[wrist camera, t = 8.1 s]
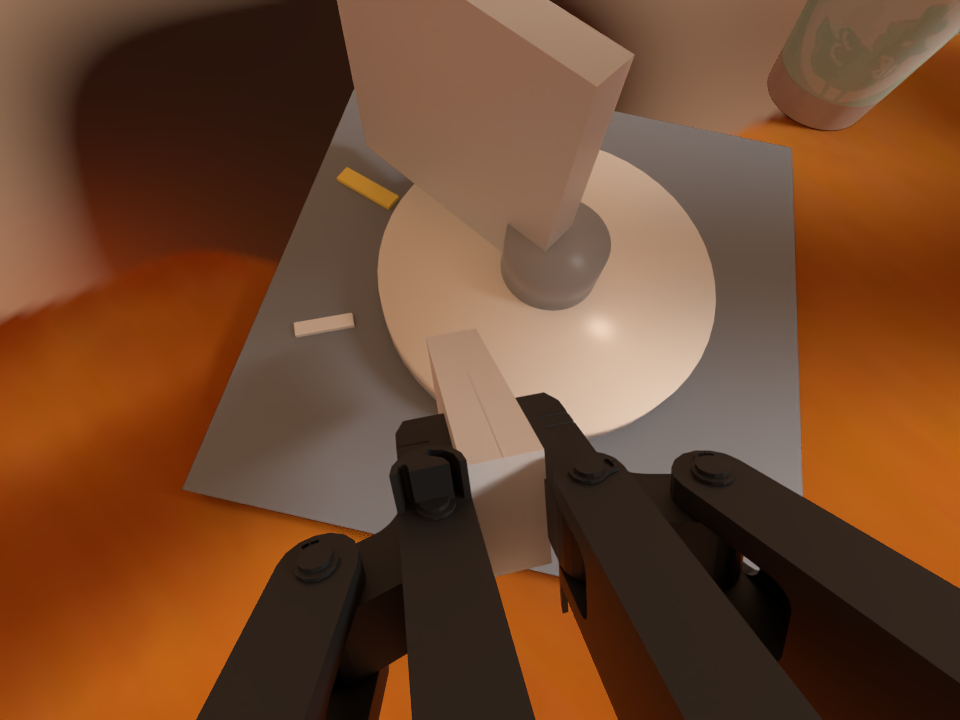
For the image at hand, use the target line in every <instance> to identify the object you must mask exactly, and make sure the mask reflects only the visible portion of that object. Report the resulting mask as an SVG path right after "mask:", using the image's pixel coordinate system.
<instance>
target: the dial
mask: <svg viewBox="0 0 960 720" xmlns="http://www.w3.org/2000/svg"><path fill="white" fill-rule="evenodd" d="M337 3H338V8H339V13H340V17H341V22H342V28H343V33H344V38H345V43H346V48H347V53H348V57H349V62H350V68H351V72H352V78H353V83H354V88H355V93H356V98H357V103H358V108H359V113H360V118H361V123H362V128H363V133H364V138H365V143H366V146H367V147H369V148H370V149H371V150H372V151H374V152H375V153H376V154H378V155H379V156H380V157H381V158H383V159H384V160H385V161H386V162H388V163H389V164H390V165H392V166H393V167H394V168H395V169H397V170H398V171H399V172H400V173H402V174H403V175H404V176H406V177H407V178H408V179H409V180H411V181H412V182H413V183H414V185H413V186H412V187H411V188H410V189H409V191H408V192H407V193H406V194H405V195H404V197H403V198H402V199H401V201H400V202H399V204H398V205H397V207H396V209H395V210H394V212H393V214H392V215H391V218H390V220H389V222H388V225H387V227H386V229H385V232H384V235H383V239H382V243H381V246H380V250H379V259H378V269H377V271H378V290H379V295H380V300H381V304H382V309H383V313H384V317H385V321H386V325H387V328H388V331H389V333H390V336H391V339H392V341H393V344H394V346H395V348H396V350H397V352H398V354H399V356H400V358H401V359H402V361H403V363H404V365H405V366H406V367H407V369H408V370H409V371H410V373H411V374H412V375H413V377H414V378H415V380H416V381H417V382H418V383H419V384H420V385H421V386H422V387H423V388H424V389H425V390H426V391H427V392H428V393H429V394H430V395H431V396H432V397H433V398H434V399H435V400H436V396H435V390H434V384H433V378H432V372H431V366H430V360H429V354H428V348H427V342H426V337H429V336H435V335H441V334H446V333H452V332H458V331H464V330H470V329H475V328H476V330H477V331H478V333H479V335H480V337H481V339H482V340H483V342H484V344H485V346H486V347H487V349H488V351H489V353H490V354H491V356H492V358H493V360H494V361H495V363H496V365H497V367H498V369H499V370H500V372H501V374H502V376H503V377H504V379H505V381H506V383H507V384H508V386H509V388H510V390H511V392H512V393H513V395H514V397H515V398H516V397H522V396H527V395H532V394H537V393H542V392H544V393H546V394H548V395H550V396H552V397H554V398H556V399H557V400H559V401H560V403H561V404H562V405H563V407H564V408H565V409H566V411H567V413H568V414H569V415H570V416H571V418H572V419H573V421H574V423H576V424H577V426H578V427H579V429H580V430H581V431H582V433H583V434H584V435H585V437H586V438H587V439H590V438H594V437H598V436H602V435H606V434H608V433H611V432H613V431H616V430H618V429H621V428H623V427H625V426H627V425H629V424H631V423H632V422H634V421H636V420H637V419H639V418H641V417H643V416H644V415H646V414H647V413H648V412H650V411H651V410H652V409H654V408H655V407H656V406H658V405H659V404H660V403H662V402H663V401H664V400H665V399H667V398H668V397H669V396H670V395H672V394H673V393H674V392H675V391H676V390H677V389H678V388H679V387H680V386H681V385H682V384H683V382H684V381H685V380H686V379H687V378H688V377H689V376H690V374H691V373H692V371H693V370H694V368H695V367H696V365H697V364H698V362H699V361H700V359H701V357H702V355H703V352H704V350H705V348H706V346H707V344H708V341H709V338H710V334H711V331H712V327H713V323H714V316H715V307H716V291H715V280H714V274H713V269H712V264H711V261H710V258H709V255H708V252H707V249H706V246H705V244H704V242H703V240H702V238H701V236H700V234H699V232H698V230H697V228H696V227H695V225H694V224H693V222H692V221H691V219H690V217H689V216H688V214H687V213H686V212H685V210H684V209H683V208H682V207H681V206H680V204H679V203H678V202H677V201H676V200H675V198H674V197H673V196H672V195H670V194H669V193H668V192H667V191H666V190H665V189H664V188H663V187H662V186H661V185H660V184H659V183H657V182H656V181H655V180H654V179H652V178H651V177H650V176H648V175H647V174H646V173H644V172H643V171H641V170H640V169H638V168H636V167H635V166H633V165H632V164H630V163H628V162H626V161H624V160H622V159H620V158H618V157H616V156H614V155H612V154H610V153H607V152H605V151H602V150H600V148H601V145H602V142H603V140H604V137H605V134H606V131H607V129H608V126H609V123H610V121H611V118H612V115H613V112H614V109H615V107H616V104H617V102H618V99H619V96H620V94H621V91H622V88H623V85H624V83H625V80H626V77H627V74H628V72H629V69H630V66H631V63H632V61H633V58H634V56H635V54H633V53H631V52H630V51H628V50H627V49H625V48H624V47H622V46H620V45H619V44H617V43H616V42H614V41H612V40H611V39H609V38H608V37H606V36H605V35H603V34H601V33H600V32H598V31H596V30H595V29H593V28H592V27H590V26H589V25H587V24H586V23H584V22H582V21H581V20H579V19H578V18H576V17H575V16H573V15H571V14H570V13H568V12H567V11H565V10H563V9H562V8H560V7H559V6H557V5H555V4H554V3H552V2H551V1H549V0H337Z"/></svg>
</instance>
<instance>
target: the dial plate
mask: <svg viewBox="0 0 960 720" xmlns="http://www.w3.org/2000/svg"><path fill="white" fill-rule="evenodd" d="M600 150H602V151H605V152H607V153H610V154H612V155H614V156H616V157H618V158H620V159H622V160H624V161H626V162H628V163H630V164H632V165H633V166H635V167H636V168H638V169H640V170H641V171H643V172H644V173H646V174H647V175H648V176H650V177H651V178H652V179H654V180H655V181H656V182H657V183H659V184H660V185H661V186H662V187H663V188H664V189H665V190H666V191H667V192H668V193H669V194H670V195H672V196H673V197H674V198H675V200H676V201H677V202H678V203H679V204H680V206H681V207H682V208H683V209H684V210H685V212H686V213H687V214H688V216H689V217H690V219H691V221H692V222H693V224H694V225H695V227H696V228H697V230H698V232H699V234H700V236H701V238H702V240H703V242H704V244H705V246H706V249H707V252H708V255H709V258H710V261H711V264H712V269H713V274H714V280H715V291H716V307H715V316H714V323H713V327H712V331H711V334H710V338H709V341H708V344H707V346H706V348H705V350H704V352H703V355H702V357H701V359H700V361H699V362H698V364H697V365H696V367H695V368H694V370H693V371H692V373H691V374H690V376H689V377H688V378H687V379H686V380H685V381H684V382H683V384H682V385H681V386H680V387H679V388H678V389H677V390H676V391H675V392H674V393H673V394H672V395H670V396H669V397H668V398H667V399H665V400H664V401H663V402H662V403H660V404H659V405H658V406H656V407H655V408H654V409H652V410H651V411H650V412H648V413H647V414H646V415H644V416H643V417H641V418H639V419H637V420H636V421H634V422H632V423H631V424H629V425H627V426H625V427H623V428H621V429H618V430H616V431H613V432H611V433H608V434H606V435H602V436H598V437H594V438H590V439H588V441H589V442H590V444H591V445H592V446H593V448H594V449H595V450H596V452H600V453H605V454H607V455H609V456H612V457H614V458H616V459H617V460H618V461H619V462H621V463H622V464H623V465H624V466H625V468H626V469H627V470H628V471H629V472H632V473H643V474H671V467H672V465H673V462H674V460H675V459H676V458H677V457H679V456H680V455H682V454H683V453H687V452H691V451H695V450H710V451H715V452H720V453H725V454H727V455H730V456H732V457H734V458H737V459H739V460H741V461H742V462H744V463H746V464H748V465H749V466H751V467H753V468H754V469H756V470H758V471H759V472H761V473H763V474H765V475H766V476H768V477H770V478H771V479H773V480H775V481H777V482H778V483H780V484H782V485H783V486H785V487H787V488H789V489H790V490H792V491H794V492H795V493H797V494H799V495H800V496H802V497H803V490H802V458H801V426H800V393H799V361H798V329H797V297H796V265H795V233H794V200H793V168H792V148H790V147H785V146H780V145H775V144H771V143H766V142H761V141H756V140H751V139H746V138H742V137H737V136H732V135H727V134H722V133H717V132H713V131H707V130H703V129H698V128H693V127H688V126H683V125H678V124H673V123H669V122H664V121H659V120H654V119H650V118H645V117H640V116H635V115H630V114H625V113H621V112H616V111H614V112H613V115H612V118H611V121H610V123H609V126H608V129H607V131H606V134H605V137H604V140H603V142H602V145H601V148H600ZM413 185H414V183H413V182H412V181H411V180H409V179H408V178H407V177H406V176H404V175H403V174H402V173H400V172H399V171H398V170H397V169H395V168H394V167H393V166H392V165H390V164H389V163H388V162H386V161H385V160H384V159H383V158H381V157H380V156H379V155H378V154H376V153H375V152H374V151H372V150H371V149H370V148H369V147H367V146H366V143H365V138H364V133H363V128H362V123H361V118H360V113H359V108H358V103H357V98H356V93H355V88H354V90H353V92H352V95H351V97H350V99H349V102H348V104H347V106H346V109H345V111H344V114H343V116H342V118H341V121H340V123H339V125H338V127H337V130H336V132H335V134H334V137H333V139H332V141H331V144H330V146H329V148H328V151H327V153H326V155H325V158H324V160H323V162H322V165H321V167H320V170H319V172H318V174H317V176H316V179H315V181H314V183H313V186H312V188H311V191H310V193H309V195H308V198H307V200H306V202H305V204H304V207H303V209H302V212H301V214H300V216H299V218H298V221H297V223H296V225H295V228H294V230H293V232H292V235H291V237H290V239H289V242H288V244H287V246H286V249H285V251H284V253H283V255H282V258H281V260H280V262H279V265H278V267H277V269H276V272H275V274H274V276H273V279H272V281H271V283H270V286H269V288H268V290H267V293H266V295H265V297H264V300H263V302H262V304H261V307H260V309H259V311H258V314H257V316H256V318H255V321H254V323H253V325H252V328H251V330H250V332H249V335H248V337H247V339H246V342H245V344H244V346H243V349H242V351H241V353H240V356H239V358H238V360H237V363H236V365H235V367H234V370H233V372H232V374H231V377H230V379H229V381H228V384H227V386H226V388H225V391H224V393H223V395H222V398H221V400H220V402H219V405H218V407H217V409H216V412H215V414H214V416H213V418H212V421H211V423H210V425H209V428H208V430H207V432H206V435H205V437H204V439H203V442H202V444H201V446H200V449H199V451H198V453H197V456H196V458H195V460H194V463H193V465H192V467H191V470H190V472H189V474H188V477H187V479H186V481H185V484H184V486H183V488H182V490H186V491H190V492H194V493H198V494H202V495H206V496H210V497H215V498H219V499H223V500H228V501H232V502H236V503H241V504H245V505H249V506H254V507H258V508H262V509H267V510H271V511H275V512H280V513H284V514H289V515H293V516H297V517H302V518H306V519H310V520H315V521H319V522H323V523H328V524H332V525H336V526H341V527H345V528H349V529H354V530H358V531H362V532H367V533H371V534H376V533H378V532H379V531H381V530H382V529H384V528H385V527H386V526H387V525H388V524H390V522H391V521H392V520H393V519H394V518H395V516H396V515H397V509H396V505H395V500H394V496H393V491H392V487H391V483H390V478H389V474H390V470H391V467H392V465H393V464H394V463H395V462H396V461H397V451H396V438H395V433H396V432H397V430H398V428H399V427H400V425H401V423H402V422H403V421H406V420H411V419H416V418H421V417H426V416H431V415H436V414H438V408H437V402H436V400H435V399H434V398H433V397H432V396H431V395H430V394H429V393H428V392H427V391H426V390H425V389H424V388H423V387H422V386H421V385H420V384H419V383H418V382H417V381H416V380H415V378H414V377H413V375H412V374H411V373H410V371H409V370H408V369H407V367H406V366H405V365H404V363H403V361H402V359H401V358H400V356H399V354H398V352H397V350H396V348H395V346H394V344H393V341H392V339H391V336H390V333H389V331H388V328H387V325H386V321H385V317H384V313H383V309H382V304H381V300H380V295H379V290H378V271H377V269H378V259H379V250H380V246H381V243H382V239H383V235H384V232H385V229H386V227H387V225H388V222H389V220H390V218H391V215H392V214H393V212H394V210H395V209H396V207H397V205H398V204H399V202H400V201H401V199H402V198H403V197H404V195H405V194H406V193H407V192H408V191H409V189H410V188H411V187H412V186H413ZM551 557H552V563H551V564H547V565H542V566H538V567H534V568H530V569H528V570H532V571H536V572H541V573H545V574H549V575H554V576H558V577H559V562H558V559H557V557H556V555H555V552H554V550H553V548H552V546H551ZM743 562H745V563H746V564H747V565H749V566H750V567H752V568H753V569H755V570H759V569H760V568H759V567H757V566H756V565H755V564H754V563H752V562H751V561H750V560H748V559H747V558H746V557H743Z"/></svg>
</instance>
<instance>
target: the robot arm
mask: <svg viewBox="0 0 960 720" xmlns="http://www.w3.org/2000/svg"><path fill="white" fill-rule="evenodd" d="M426 342H427V348H428V354H429V360H430V366H431V372H432V378H433V384H434V390H435V396H436V402H437V408H438V414H436V415H431V416H426V417H421V418H416V419H411V420H406V421H403V422H402V423H401V425H400V427H399V428H398V430H397V432H396V433H395V438H396V451H397V461H396V462H395V463H394V464H393V465H392V467H391V470H390V474H389V478H390V483H391V487H392V491H393V496H394V500H395V505H396V509H397V515H396V516H395V518H394V519H393V520H392V521H391V522H390V524H388V525H387V526H386V527H385V528H384V529H382V530H381V531H379V532H378V533H376V534H374V535H373V536H371V537H369V538H367V539H365V540H362V541H360V542H358V543H355V541H354V540H353V539H351V538H349V537H348V536H346V535H344V534H336V533H327V534H322V535H317V536H313V537H311V538H309V539H307V540H305V541H302V542H300V543H299V544H297V545H296V546H295V547H293V548H292V549H291V550H289V551H288V552H287V553H286V554H285V555H284V556H283V558H282V559H281V560H280V562H279V563H278V564H277V566H276V568H275V570H274V572H273V574H272V575H271V577H270V579H269V581H268V583H267V585H266V587H265V589H264V591H263V593H262V595H261V597H260V598H259V600H258V602H257V604H256V606H255V608H254V610H253V612H252V614H251V616H250V618H249V620H248V621H247V623H246V625H245V627H244V629H243V631H242V633H241V635H240V637H239V639H238V641H237V643H236V644H235V646H234V648H233V650H232V652H231V654H230V656H229V658H228V660H227V662H226V664H225V666H224V667H223V669H222V671H221V673H220V675H219V677H218V679H217V681H216V683H215V685H214V687H213V689H212V690H211V692H210V694H209V696H208V698H207V700H206V702H205V704H204V706H203V708H202V710H201V712H200V713H199V715H198V717H197V719H196V720H379V715H380V710H381V706H382V701H383V696H384V691H385V687H386V682H387V677H388V673H389V664H391V663H392V662H394V661H396V660H397V659H399V658H401V657H402V656H404V655H406V654H407V653H408V667H409V681H410V695H411V709H412V720H535V717H534V713H533V710H532V706H531V703H530V699H529V696H528V692H527V689H526V685H525V682H524V678H523V675H522V671H521V668H520V664H519V661H518V657H517V654H516V650H515V647H514V643H513V640H512V636H511V633H510V629H509V626H508V622H507V619H506V615H505V612H504V608H503V605H502V601H501V598H500V594H499V591H498V587H497V584H496V580H495V577H497V576H501V575H505V574H509V573H513V572H518V571H522V570H526V569H530V568H534V567H538V566H542V565H547V564H551V563H552V557H551V546H552V548H553V550H554V552H555V555H556V557H557V559H558V562H559V579H560V595H561V606H562V612H563V613H566V612H568V602H569V605H570V607H571V610H572V612H573V614H574V617H575V619H576V621H577V624H578V626H579V628H580V631H581V633H582V635H583V638H584V640H585V642H586V645H587V647H588V649H589V652H590V654H591V657H592V659H593V661H594V664H595V666H596V668H597V671H598V673H599V675H600V678H601V680H602V682H603V685H604V687H605V689H606V692H607V694H608V697H609V699H610V701H611V704H612V706H613V708H614V711H615V713H616V715H617V718H618V720H960V589H959V588H958V587H956V586H954V585H953V584H951V583H949V582H947V581H946V580H944V579H942V578H941V577H939V576H937V575H935V574H934V573H932V572H930V571H929V570H927V569H925V568H924V567H922V566H920V565H918V564H917V563H915V562H913V561H912V560H910V559H908V558H906V557H905V556H903V555H901V554H900V553H898V552H896V551H894V550H893V549H891V548H889V547H888V546H886V545H884V544H883V543H881V542H879V541H877V540H876V539H874V538H872V537H871V536H869V535H867V534H865V533H864V532H862V531H860V530H859V529H857V528H855V527H853V526H852V525H850V524H848V523H847V522H845V521H843V520H842V519H840V518H838V517H836V516H835V515H833V514H831V513H830V512H828V511H826V510H824V509H823V508H821V507H819V506H818V505H816V504H814V503H812V502H811V501H809V500H807V499H806V498H804V497H802V496H800V495H799V494H797V493H795V492H794V491H792V490H790V489H789V488H787V487H785V486H783V485H782V484H780V483H778V482H777V481H775V480H773V479H771V478H770V477H768V476H766V475H765V474H763V473H761V472H759V471H758V470H756V469H754V468H753V467H751V466H749V465H748V464H746V463H744V462H742V461H741V460H739V459H737V458H734V457H732V456H730V455H727V454H725V453H720V452H715V451H710V450H695V451H691V452H687V453H683V454H682V455H680V456H679V457H677V458H676V459H675V460H674V462H673V465H672V467H671V474H643V473H632V472H629V471H628V470H627V469H626V468H625V466H624V465H623V464H622V463H621V462H619V461H618V460H617V459H616V458H614V457H612V456H609V455H607V454H605V453H600V452H596V450H595V449H594V448H593V446H592V445H591V444H590V442H589V441H588V439H587V438H586V437H585V435H584V434H583V433H582V431H581V430H580V429H579V427H578V426H577V424H576V423H574V421H573V419H572V418H571V416H570V415H569V414H568V413H567V411H566V409H565V408H564V407H563V405H562V404H561V403H560V401H559V400H557V399H556V398H554V397H552V396H550V395H548V394H546V393H544V392H542V393H537V394H532V395H527V396H522V397H516V398H515V397H514V395H513V393H512V392H511V390H510V388H509V386H508V384H507V383H506V381H505V379H504V377H503V376H502V374H501V372H500V370H499V369H498V367H497V365H496V363H495V361H494V360H493V358H492V356H491V354H490V353H489V351H488V349H487V347H486V346H485V344H484V342H483V340H482V339H481V337H480V335H479V333H478V331H477V330H476V328H475V329H470V330H464V331H458V332H452V333H446V334H441V335H435V336H429V337H426ZM743 557H746V558H747V559H748V560H750V561H751V562H752V563H754V564H755V565H756V566H757V567H759V568H760V569H759V570H755V569H753V568H752V567H750V566H749V565H747V564H746V563H745V562H743Z"/></svg>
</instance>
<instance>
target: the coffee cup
mask: <svg viewBox="0 0 960 720" xmlns="http://www.w3.org/2000/svg"><path fill="white" fill-rule="evenodd" d="M959 32H960V0H808V1H807V3H806V5H805V6H804V9H803V10H802V12H801V14H800V16H799V18H798V20H797V22H796V24H795V26H794V28H793V30H792V31H791V33H790V35H789V37H788V39H787V41H786V43H785V45H784V47H783V49H782V51H781V53H780V55H779V57H778V59H777V60H776V62H775V64H774V67H773V68H772V70H771V72H770V74H769V77H768V82H767V83H768V91H769V94H770V96H771V98H772V100H773V101H774V103H775V104H776V106H777V107H778V108H779V109H780V110H781V111H782V112H783V113H784V114H786V115H787V116H788V117H790V118H791V119H793V120H795V121H796V122H798V123H800V124H803V125H805V126H808V127H811V128H815V129H820V130H839V129H844V128H847V127H849V126H851V125H853V124H854V123H856V122H857V121H858V120H859V119H860V118H861V117H863V116H864V115H865V114H866V113H867V112H868V111H869V110H871V109H872V108H873V107H874V106H875V105H876V104H878V103H879V102H880V101H881V100H882V99H883V98H885V97H886V96H887V95H888V94H889V93H890V92H891V91H893V90H894V89H895V88H896V87H897V86H898V85H899V84H901V83H902V82H903V81H904V80H905V79H906V78H907V77H909V76H910V75H911V74H912V73H913V72H914V71H915V70H916V69H918V68H919V67H920V66H921V65H922V64H923V63H924V62H926V61H927V60H928V59H929V58H930V57H931V56H932V55H934V54H935V53H936V52H937V51H938V50H939V49H940V48H942V47H943V46H944V45H945V44H946V43H947V42H948V41H950V40H951V39H952V38H953V37H954V36H955V35H956V34H958V33H959Z"/></svg>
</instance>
